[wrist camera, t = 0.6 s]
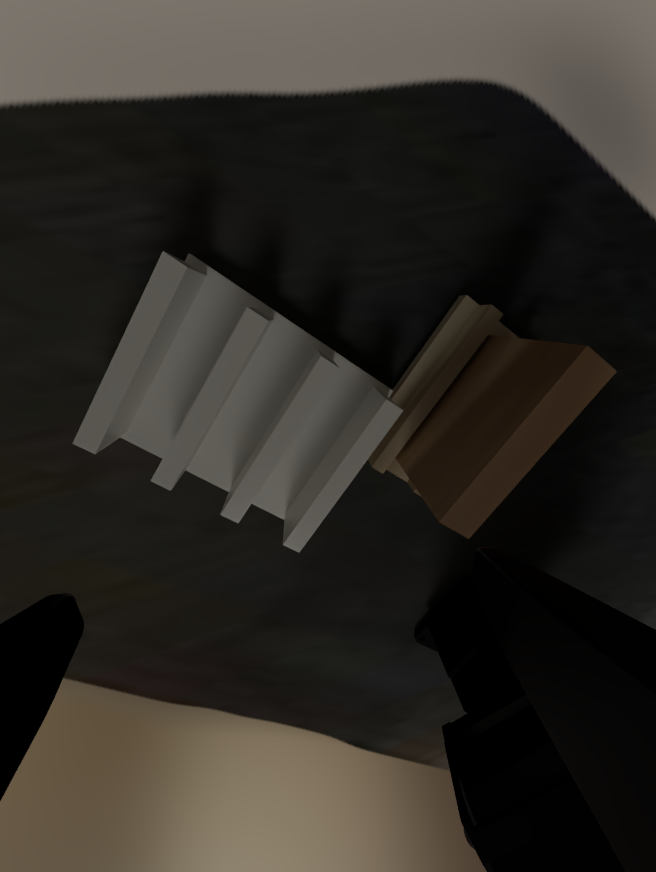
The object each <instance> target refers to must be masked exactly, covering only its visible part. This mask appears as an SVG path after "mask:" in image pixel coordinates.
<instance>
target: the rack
mask: <svg viewBox="0 0 656 872" xmlns="http://www.w3.org/2000/svg"><path fill="white" fill-rule="evenodd" d="M392 392H393V390H391V389H390V388H389V387H387V386H386V385H384V384H383V383H381V382H380V381H378V380H377V379H375V378H374V377H372V376H371V375H369V374H368V373H366V372H365V371H363V370H362V369H361V368H359V367H358V366H356V365H355V364H353V363H352V362H350V361H349V360H347V359H346V358H344V357H343V356H341V355H340V354H338V353H337V352H335V351H334V350H332V349H331V348H329V347H328V346H326V345H325V344H324V343H322V342H321V341H319V340H318V339H316V338H315V337H313V336H312V335H310V334H309V333H307V332H306V331H304V330H303V329H301V328H300V327H298V326H297V325H295V324H294V323H292V322H291V321H289V320H288V319H287V318H285V317H284V316H282V315H281V314H279V313H278V312H276V311H275V310H273V309H272V308H270V307H269V306H267V305H266V304H264V303H263V302H261V301H260V300H258V299H257V298H255V297H254V296H252V295H251V294H250V293H248V292H247V291H245V290H244V289H242V288H241V287H239V286H238V285H236V284H235V283H233V282H232V281H230V280H229V279H227V278H226V277H224V276H223V275H221V274H220V273H218V272H217V271H215V270H214V269H212V268H211V267H210V266H208V265H207V264H205V263H204V262H202V261H201V260H199V259H198V258H196V257H195V256H193V255H191V254H190V253H189V254H188V256H187V258H186V260H185V261H183V260H181V259H179V258H177V257H175V256H172V255H170V254H168V253H166V252H164V251H163V252H162V254H161V256H160V258H159V260H158V263H157V265H156V267H155V269H154V271H153V273H152V275H151V278H150V280H149V282H148V284H147V286H146V288H145V290H144V292H143V295H142V297H141V299H140V301H139V303H138V305H137V307H136V310H135V312H134V314H133V316H132V318H131V320H130V322H129V324H128V327H127V329H126V331H125V333H124V335H123V337H122V339H121V341H120V344H119V346H118V348H117V350H116V352H115V354H114V356H113V359H112V361H111V363H110V365H109V367H108V369H107V371H106V373H105V376H104V378H103V380H102V382H101V384H100V386H99V388H98V391H97V393H96V395H95V397H94V399H93V401H92V403H91V405H90V408H89V410H88V412H87V414H86V416H85V418H84V420H83V422H82V425H81V427H80V429H79V431H78V433H77V435H76V437H75V440H74V442H73V444H75V445H77V446H79V447H81V448H83V449H85V450H87V451H89V452H91V453H93V454H97V453H98V452H99V451H101V450H102V449H104V448H105V447H107V446H108V445H110V444H111V443H112V442H114V441H115V440H117V439H118V438H120V437H121V438H123V439H125V440H127V441H129V442H131V443H133V444H135V445H137V446H139V447H141V448H142V449H144V450H146V451H148V452H150V453H152V454H154V455H156V456H158V457H160V458H162V459H163V460H162V461H161V463H160V465H159V467H158V469H157V470H156V472H155V474H154V476H153V478H152V479H151V482H153V483H156V484H158V485H160V486H162V487H164V488H166V489H168V490H170V491H171V490H172V488H173V487H174V486H175V484H176V483H177V481H178V480H179V479H180V477H181V476H182V474H183V473H184V472H185V470H186V471H188V472H190V473H192V474H194V475H196V476H198V477H200V478H202V479H204V480H206V481H208V482H210V483H212V484H214V485H216V486H218V487H220V488H222V489H224V490H226V491H228V492H229V493H228V496H227V499H226V501H225V504H224V506H223V509H222V511H221V514H220V515H222V516H224V517H226V518H228V519H230V520H232V521H234V522H236V523H239V522H240V520H241V519H242V517H243V515H244V514H245V512H246V511H247V509H248V508H249V506H250V505H251V503H252V504H254V505H256V506H258V507H260V508H262V509H264V510H266V511H268V512H270V513H272V514H274V515H276V516H278V517H280V518H281V519H283V520H284V536H283V545H284V546H286V547H288V548H290V549H293V550H295V551H297V552H300V551H301V550H302V548H303V547H304V546H305V544H306V543H307V541H308V540H309V539H310V537H311V536H312V535H313V533H314V532H315V531H316V529H317V528H318V526H319V525H320V524H321V522H322V521H323V520H324V518H325V517H326V516H327V514H328V513H329V511H330V510H331V509H332V507H333V506H334V505H335V503H336V502H337V501H338V499H339V498H340V496H341V495H342V494H343V492H344V491H345V490H346V488H347V487H348V486H349V484H350V483H351V481H352V480H353V479H354V477H355V476H356V475H357V473H358V472H359V471H360V469H361V468H362V466H363V465H364V464H365V462H366V461H367V460H368V458H369V457H370V456H371V454H372V453H373V451H374V450H375V449H376V447H377V446H378V445H379V443H380V442H381V441H382V439H383V438H384V436H385V435H386V434H387V432H388V431H389V430H390V428H391V427H392V426H393V424H394V423H395V421H396V420H397V419H398V417H399V416H400V415H401V413H402V412H403V410H402V409H401V408H400V407H399V406H398V405H397V404H396V403H395V402H393V401H392V400H391V399H390V398H389V397H390V395H391V394H392Z"/></svg>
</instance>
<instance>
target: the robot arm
mask: <svg viewBox="0 0 656 872" xmlns="http://www.w3.org/2000/svg"><path fill="white" fill-rule="evenodd" d="M469 584H470V585H469ZM83 629H84V621H83V618H82V616H81V613H80V611H79V608H78V606H77V603H76V601H75V598H74V596H73V595H71V594H69V593H63V594H54V595H49V596H47V597H45V598H43V599H42V600H40V601H38V602H37V603H35V604H33V605H32V606H30V607H28V608H27V609H25V610H23V611H22V612H20V613H18V614H17V615H15V616H13V617H12V618H10V619H8V620H7V621H5V622H3V623H2V624H0V801H1V799H2V797H3V795H4V793H5V791H6V790H7V788H8V786H9V784H10V782H11V780H12V778H13V776H14V774H15V773H16V771H17V769H18V767H19V765H20V764H21V762H22V760H23V758H24V756H25V754H26V752H27V750H28V749H29V747H30V745H31V743H32V741H33V739H34V737H35V736H36V734H37V732H38V730H39V728H40V726H41V724H42V722H43V720H44V718H45V716H46V714H47V712H48V710H49V708H50V706H51V704H52V701H53V700H54V697H55V695H56V693H57V691H58V688H59V686H60V684H61V681H62V679H63V677H64V675H65V672H66V670H67V668H68V665H69V663H70V661H71V659H72V656H73V654H74V652H75V649H76V647H77V645H78V643H79V640H80V638H81V636H82V633H83ZM414 636H415V639H416V642H418V643H419V644H422V645H424V646H426V647H428V648H431V649H433V650H435V651H437V652H438V653H439V656H440V658H441V661H442V663H443V665H444V668H445V670H446V673H447V675H448V677H449V678H451V681H452V683H453V685H454V688H455V690H456V693H457V695H458V697H459V700H460V702H461V704H462V707H463V709H464V711H465V712H467V713H468V714H466V715H464V716H462V717H461V718H459V719H457V720H456V721H454V722H452V723H450V722H448V723H447V724H445V725H443V726H442V730H443V735H444V740H445V743H444V744H445V749H446V754H447V758H448V763H449V768H450V772H451V777H452V782H453V786H454V791H455V796H456V800H457V805H458V810H459V814H460V818H461V822H462V825H463V826H464V833H465V837H466V839H467V841H468V843H469V845H470V846H471V847H472V848H474V849H475V850H476V852H477V854H478V856H479V858H480V860H481V862H482V864H483V866H484V867H485V869H486V871H487V872H656V630H655V629H653V628H651V627H649V626H647V625H645V624H643V623H641V622H639V621H638V620H636V619H634V618H632V617H630V616H628V615H626V614H624V613H622V612H620V611H618V610H616V609H614V608H613V607H611V606H609V605H607V604H605V603H603V602H601V601H599V600H597V599H595V598H593V597H591V596H589V595H587V594H586V593H584V592H582V591H580V590H578V589H576V588H574V587H572V586H570V585H568V584H566V583H564V582H562V581H560V580H559V579H557V578H555V577H553V576H551V575H549V574H547V573H545V572H543V571H541V570H539V569H537V568H535V567H534V566H532V565H530V564H528V563H526V562H524V561H522V560H520V559H518V558H516V557H514V556H512V555H510V554H508V553H507V552H505V551H503V550H501V549H499V548H497V547H494V546H490V547H481V548H477V549H476V550H475V554H474V566H473V578H471V577H467V578H464V579H463V580H462V581H461V582H460V583H459V584H458V585H457V587H456V588H455V589H454V590H453V591H452V592H451V593H450V594H449V595H448V596H447V597H446V599H445V600H444V601H443V602H442V603H441V604H440V605H439V606H438V607H437V608H436V610H435V611H434V612H433V613H432V614H431V615H430V616H429V617H428V618H427V619H426V620H425V622H424V623H423V624H422V625H421V626H420V627H419V628H418V629H417V630H416V631H415V633H414Z"/></svg>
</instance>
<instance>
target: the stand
mask: <svg viewBox="0 0 656 872" xmlns="http://www.w3.org/2000/svg"><path fill="white" fill-rule="evenodd" d="M502 316H503V313H501V312H500V311H499V310H498V309H497V308H495V307H494V306H493V305H478V304H477V303H476V302H475V301H474V300H472V299H471V298H470V297H469V296H468V295H461V296H459V297H458V299H457V300H456V301H455V303H454V304H453V306H452V307H451V308H450V310H449V311H448V313H447V314H446V315H445V317H444V318H443V320H442V321H441V322H440V324H439V325H438V327H437V328H436V330H435V331H434V332H433V334H432V335H431V337H430V338H429V339H428V341H427V342H426V344H425V345H424V346H423V348H422V349H421V351H420V352H419V353H418V355H417V356H416V358H415V359H414V360H413V362H412V363H411V365H410V366H409V367H408V369H407V370H406V372H405V373H404V374H403V376H402V377H401V379H400V380H399V381H398V383H397V384H396V386H395V387H394V388H393V392H392V394H391V395H390V397H389V398H390V399H391V400H392V401H393V402H395V403H396V404H397V405H398V406H399V407H400V408H401V409H402V410H403V412H402V413H401V415H400V416H399V417H398V419H397V420H396V421H395V423H394V424H393V426H392V427H391V428H390V430H389V431H388V432H387V434H386V435H385V436H384V438H383V439H382V441H381V442H380V443H379V445H378V446H377V447H376V449H375V450H374V451H373V453H372V454H371V456H370V457H369V458H368V461H369V463H370V465H371V467H373V468H374V469H376V470H378V471H379V472H381V473H384V472H385V470H388V471H390V472H391V473H393V474H395V475H396V476H398V477H400V478H401V479H403V480H405V481H406V482H407V483H408V484H409V486H410V487H411V489H412V490H413V492H415V493H417V494H418V495H420V494H419V492H418V491H417V489H416V488H415V486H414V485H413V483H412V482H411V480H410V479H409V477H408V476H407V475H406V473H405V472H404V470H403V469H402V467H401V466H400V464H399V463H398V461H397V460H396V458H395V457H396V456H397V455H398V453H399V452H400V451H401V449H402V448H403V447H404V445H405V444H406V443H407V441H408V440H409V439H410V437H411V436H412V435H413V433H414V432H415V431H416V429H417V428H418V427H419V425H420V424H421V423H422V422H423V420H424V419H425V418H426V416H427V415H428V414H429V412H430V411H431V410H432V408H433V407H434V406H435V404H436V403H437V402H438V400H439V399H440V398H441V396H442V395H443V394H444V392H445V391H446V390H447V388H448V387H449V386H450V384H451V383H452V382H453V381H454V379H455V378H456V377H457V375H458V374H459V373H460V371H461V370H462V369H463V367H464V366H465V365H466V363H467V362H468V361H469V359H470V358H471V357H472V355H473V354H474V353H475V351H476V350H477V349H478V347H479V346H480V345H481V344H482V342H483V341H484V340H485V338H486V337H487V336H488V335H492V336H502V337H511V338H519V337H517V336H516V335H515V334H514V333H513V332H511V331H510V330H509V329H508V328H506V327H505V326H504V325H503V324H502V323H500V322H499V320H500V318H501V317H502ZM420 496H421V495H420Z"/></svg>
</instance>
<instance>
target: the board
mask: <svg viewBox="0 0 656 872" xmlns="http://www.w3.org/2000/svg"><path fill="white" fill-rule="evenodd" d="M616 372H617V371H616V370H615V369H614V368H613V367H611V366H610V365H609V364H608V363H607V362H606V361H605V360H603V359H602V358H601V357H600V356H599V355H598V354H597V353H595V352H594V351H593V350H592V349H591V348H590V347H589V346H587V345H578V344H568V343H559V342H549V341H540V340H530V339H521V338H511V337H502V336H492V335H488V336H487V337H486V338H485V340H484V341H483V342H482V344H481V345H480V346H479V347H478V349H477V350H476V351H475V353H474V354H473V355H472V357H471V358H470V359H469V361H468V362H467V363H466V365H465V366H464V367H463V369H462V370H461V371H460V373H459V374H458V375H457V377H456V378H455V379H454V381H453V382H452V383H451V384H450V386H449V387H448V388H447V390H446V391H445V392H444V394H443V395H442V396H441V398H440V399H439V400H438V402H437V403H436V404H435V406H434V407H433V408H432V410H431V411H430V412H429V414H428V415H427V416H426V418H425V419H424V420H423V422H422V423H421V424H420V425H419V427H418V428H417V429H416V431H415V432H414V433H413V435H412V436H411V437H410V439H409V440H408V441H407V443H406V444H405V445H404V447H403V448H402V449H401V451H400V452H399V453H398V455H397V456H396V457H395V458H396V460H397V461H398V463H399V464H400V466H401V467H402V469H403V470H404V472H405V473H406V475H407V476H408V477H409V479H410V480H411V482H412V483H413V485H414V486H415V488H416V489H417V491H418V492H419V494H420V495H421V496H422V498H423V499H424V501H425V502H426V504H427V505H428V507H429V508H430V510H431V511H432V513H433V514H434V515H435V517H436V518H437V520H438V521H439V522H440V523H442V524H443V525H445V526H447V527H449V528H450V529H452V530H454V531H455V532H457V533H459V534H461V535H462V536H464V537H466V538H468V539H469V538H470V537H471V536H472V535H473V534H474V533H475V531H476V530H477V529H478V528H479V527H480V526H481V525H482V524H483V522H484V521H485V520H486V519H487V518H488V517H489V516H490V514H491V513H492V512H493V511H494V510H495V509H496V508H497V507H498V505H499V504H500V503H501V502H502V501H503V500H504V499H505V497H506V496H507V495H508V494H509V493H510V492H511V491H512V490H513V488H514V487H515V486H516V485H517V484H518V483H519V482H520V480H521V479H522V478H523V477H524V476H525V475H526V474H527V473H528V471H529V470H530V469H531V468H532V467H533V466H534V465H535V464H536V462H537V461H538V460H539V459H540V458H541V457H542V456H543V454H544V453H545V452H546V451H547V450H548V449H549V448H550V447H551V445H552V444H553V443H554V442H555V441H556V440H557V439H558V437H559V436H560V435H561V434H562V433H563V432H564V431H565V430H566V428H567V427H568V426H569V425H570V424H571V423H572V422H573V421H574V419H575V418H576V417H577V416H578V415H579V414H580V413H581V411H582V410H583V409H584V408H585V407H586V406H587V405H588V404H589V402H590V401H591V400H592V399H593V398H594V397H595V396H596V394H597V393H598V392H599V391H600V390H601V389H602V388H603V387H604V385H605V384H606V383H607V382H608V381H609V380H610V379H611V377H612V376H613V375H614V374H615V373H616Z"/></svg>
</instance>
